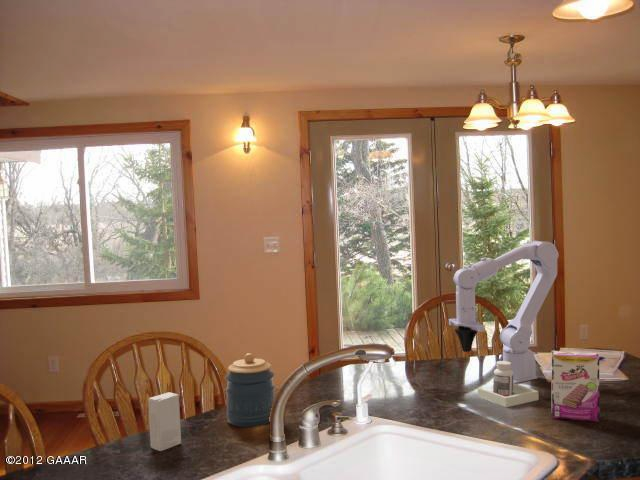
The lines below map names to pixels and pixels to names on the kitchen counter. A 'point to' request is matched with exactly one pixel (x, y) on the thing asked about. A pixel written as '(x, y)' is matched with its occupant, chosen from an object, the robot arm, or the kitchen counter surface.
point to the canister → (249, 392)
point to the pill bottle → (503, 379)
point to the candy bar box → (575, 385)
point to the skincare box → (164, 421)
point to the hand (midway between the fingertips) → (466, 351)
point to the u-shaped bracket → (521, 396)
